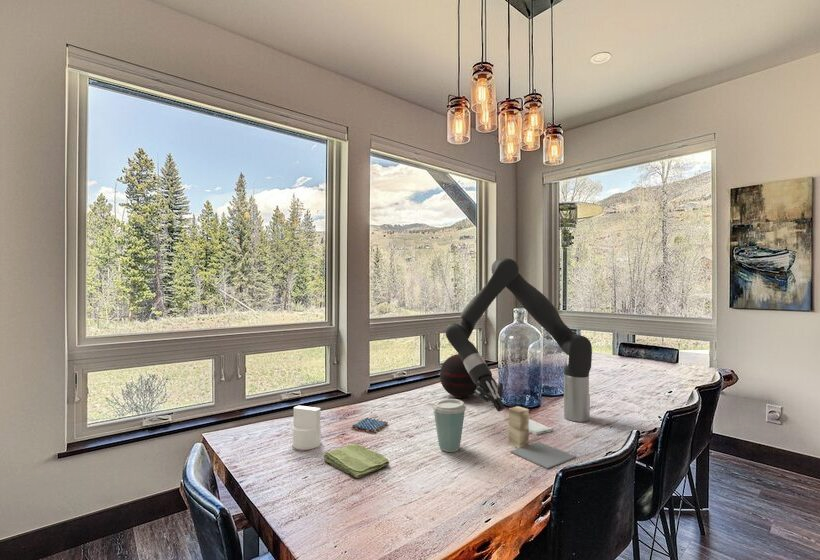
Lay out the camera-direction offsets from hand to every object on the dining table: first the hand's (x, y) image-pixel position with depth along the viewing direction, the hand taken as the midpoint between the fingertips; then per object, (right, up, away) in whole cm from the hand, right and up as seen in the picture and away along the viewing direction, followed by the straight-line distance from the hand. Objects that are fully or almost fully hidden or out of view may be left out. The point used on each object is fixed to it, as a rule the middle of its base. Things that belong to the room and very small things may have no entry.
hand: (501, 409), depth 144 cm
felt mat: (+10, -10, -14) cm, 20 cm away
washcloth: (-48, -10, -20) cm, 53 cm away
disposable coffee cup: (-19, -10, -9) cm, 23 cm away
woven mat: (-47, -10, +9) cm, 49 cm away
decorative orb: (-8, -10, +50) cm, 51 cm away
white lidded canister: (-66, -9, -6) cm, 67 cm away
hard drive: (+14, -10, +10) cm, 20 cm away
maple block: (+4, -10, -6) cm, 12 cm away
